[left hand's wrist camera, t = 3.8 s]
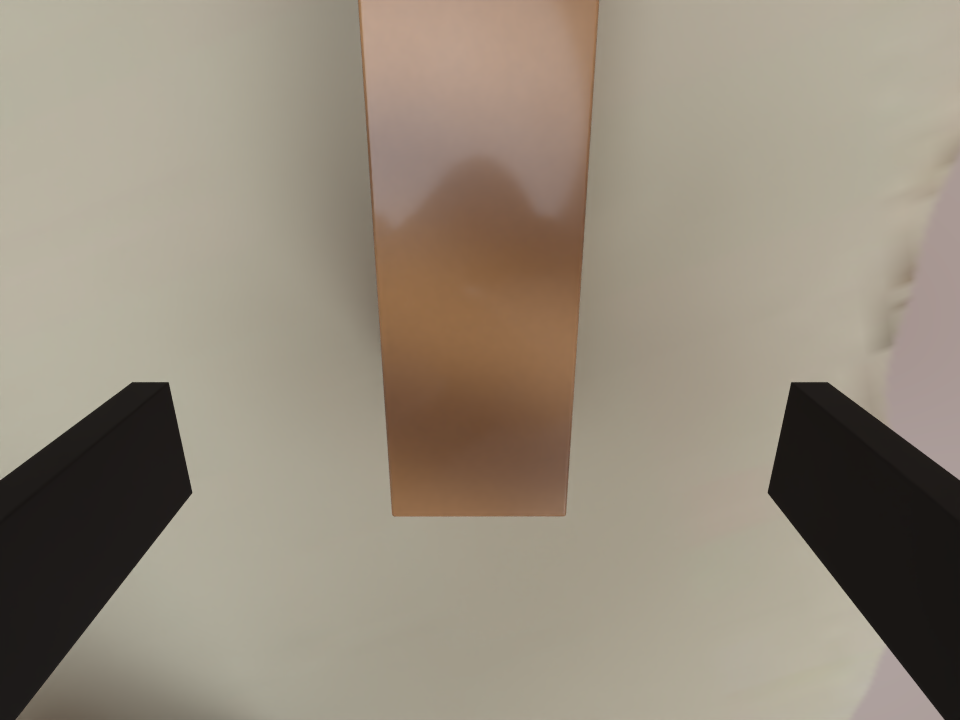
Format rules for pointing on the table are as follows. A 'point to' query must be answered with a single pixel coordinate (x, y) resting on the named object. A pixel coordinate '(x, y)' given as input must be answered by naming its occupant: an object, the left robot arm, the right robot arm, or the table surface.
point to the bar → (478, 243)
